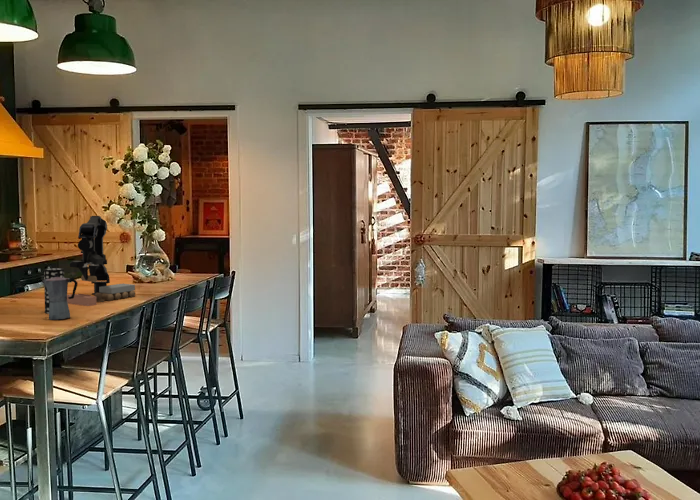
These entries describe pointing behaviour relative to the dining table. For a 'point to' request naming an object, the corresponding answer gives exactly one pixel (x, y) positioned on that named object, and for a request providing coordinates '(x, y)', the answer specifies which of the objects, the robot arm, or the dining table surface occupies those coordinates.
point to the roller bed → (113, 296)
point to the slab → (116, 288)
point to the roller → (90, 278)
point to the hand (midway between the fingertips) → (89, 279)
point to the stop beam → (82, 299)
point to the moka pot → (59, 296)
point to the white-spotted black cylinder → (47, 275)
